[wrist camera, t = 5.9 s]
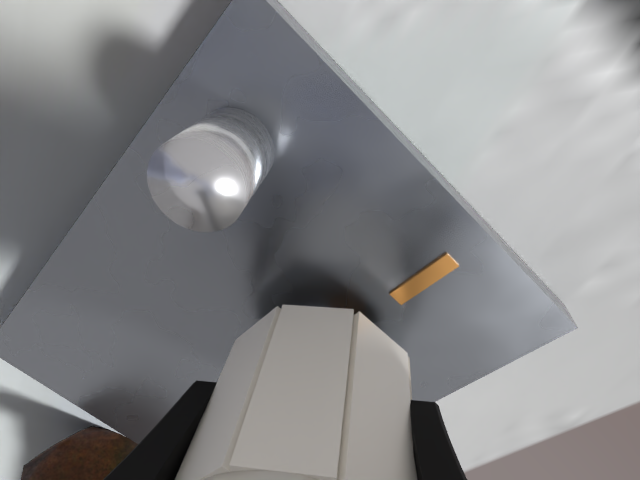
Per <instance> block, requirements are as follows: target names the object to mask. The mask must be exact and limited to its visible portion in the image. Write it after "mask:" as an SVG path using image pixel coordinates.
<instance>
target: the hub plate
mask: <svg viewBox="0 0 640 480" xmlns="http://www.w3.org/2000/svg"><path fill="white" fill-rule="evenodd" d="M282 305H298V306H313V307H329V308H344V309H354V315H355V314H356V313H358V312H359V311H360V312H361V313H362V314H363V315H364V316H365V317H367V318H368V319H369V320H370V321H371V322H372V323H374V324H375V325H376V326H377V327H378V328H379V329H381V330H382V331H383V332H384V333H385V334H386V335H387V336H389V337H390V338H391V339H392V340H393V341H394V342H396V343H397V344H398V345H399V346H400V347H401V348H403V349H404V350H405V351H406V352H407V353H408V357H410V373H411V389H412V400H417V401H428V402H435V401H437V400H439V399H441V398H443V397H445V396H447V395H449V394H451V393H453V392H455V391H456V390H458V389H460V388H462V387H464V386H466V385H468V384H470V383H472V382H474V381H476V380H478V379H480V378H482V377H484V376H485V375H487V374H489V373H491V372H493V371H495V370H497V369H499V368H501V367H503V366H505V365H507V364H509V363H511V362H513V361H514V360H516V359H518V358H520V357H522V356H524V355H526V354H528V353H530V352H532V351H534V350H536V349H538V348H540V347H542V346H544V345H545V344H547V343H549V342H551V341H553V340H555V339H557V338H559V337H561V336H563V335H565V334H567V333H569V332H571V331H573V330H574V329H576V328H577V326H576V324H575V322H574V321H573V319H572V317H571V315H570V314H569V312H568V310H567V308H566V307H565V305H564V304H563V303H562V302H561V301H560V300H559V299H558V298H557V297H556V296H555V294H554V293H553V292H552V291H551V290H550V289H549V288H548V287H547V286H546V285H545V284H544V283H543V282H542V281H541V280H540V279H539V278H538V276H537V275H536V274H535V273H534V272H533V271H532V270H531V269H530V268H529V267H528V266H527V265H526V264H525V263H524V262H523V261H522V259H521V258H520V257H519V256H518V255H517V254H516V253H515V252H514V251H513V250H512V249H511V248H510V247H509V246H508V245H507V244H506V243H505V241H504V240H503V239H502V238H501V237H500V236H499V235H498V234H497V233H496V232H495V231H494V230H493V229H492V228H491V227H490V226H489V224H488V223H487V222H486V221H485V220H484V219H483V218H482V217H481V216H480V215H479V214H478V213H477V212H476V211H475V210H474V209H473V208H472V206H471V205H470V204H469V203H468V202H467V201H466V200H465V199H464V198H463V197H462V196H461V195H460V194H459V193H458V192H457V191H456V190H455V188H454V187H453V186H452V185H451V184H450V183H449V182H448V181H447V180H446V179H445V178H444V177H443V176H442V175H441V174H440V173H439V171H438V170H437V169H436V168H435V167H434V166H433V165H432V164H431V163H430V162H429V161H428V160H427V159H426V158H425V157H424V156H423V155H422V153H421V152H420V151H419V150H418V149H417V148H416V147H415V146H414V145H413V144H412V143H411V142H410V141H409V140H408V139H407V138H406V136H405V135H404V134H403V133H402V132H401V131H400V130H399V129H398V128H397V127H396V126H395V125H394V124H393V123H392V122H391V121H390V120H389V118H388V117H387V116H386V115H385V114H384V113H383V112H382V111H381V110H380V109H379V108H378V107H377V106H376V105H375V104H374V103H373V101H372V100H371V99H370V98H369V97H368V96H367V95H366V94H365V93H364V92H363V91H362V90H361V89H360V88H359V87H358V86H357V85H356V83H355V82H354V81H353V80H352V79H351V78H350V77H349V76H348V75H347V74H346V73H345V72H344V71H343V70H342V69H341V68H340V66H339V65H338V64H337V63H336V62H335V61H334V60H333V59H332V58H331V57H330V56H329V55H328V54H327V53H326V52H325V51H324V50H323V48H322V47H321V46H320V45H319V44H318V43H317V42H316V41H315V40H314V39H313V38H312V37H311V36H310V35H309V34H308V33H307V31H306V30H305V29H304V28H303V27H302V26H301V25H300V24H299V23H298V22H297V21H296V20H295V19H294V18H293V17H292V16H291V15H290V13H289V12H288V11H287V10H286V9H285V8H284V7H283V6H282V5H281V4H280V3H279V2H278V1H277V0H232V1H231V2H230V4H229V5H228V7H227V8H226V10H225V11H224V12H223V14H222V15H221V17H220V18H219V19H218V21H217V22H216V24H215V25H214V27H213V28H212V29H211V31H210V32H209V34H208V35H207V36H206V38H205V39H204V41H203V42H202V43H201V45H200V46H199V48H198V49H197V51H196V52H195V53H194V55H193V56H192V58H191V59H190V60H189V62H188V63H187V65H186V66H185V67H184V69H183V70H182V72H181V73H180V75H179V76H178V77H177V79H176V80H175V82H174V83H173V84H172V86H171V87H170V89H169V90H168V92H167V93H166V94H165V96H164V97H163V99H162V100H161V101H160V103H159V104H158V106H157V107H156V108H155V110H154V111H153V113H152V114H151V116H150V117H149V118H148V120H147V121H146V123H145V124H144V125H143V127H142V128H141V130H140V131H139V133H138V134H137V135H136V137H135V138H134V140H133V141H132V142H131V144H130V145H129V147H128V148H127V149H126V151H125V152H124V154H123V155H122V157H121V158H120V159H119V161H118V162H117V164H116V165H115V166H114V168H113V169H112V171H111V172H110V174H109V175H108V176H107V178H106V179H105V181H104V182H103V183H102V185H101V186H100V188H99V189H98V190H97V192H96V193H95V195H94V196H93V198H92V199H91V200H90V202H89V203H88V205H87V206H86V207H85V209H84V210H83V212H82V213H81V215H80V216H79V217H78V219H77V220H76V222H75V223H74V224H73V226H72V227H71V229H70V230H69V231H68V233H67V234H66V236H65V237H64V239H63V240H62V241H61V243H60V244H59V246H58V247H57V248H56V250H55V251H54V253H53V254H52V256H51V257H50V258H49V260H48V261H47V263H46V264H45V265H44V267H43V268H42V270H41V271H40V272H39V274H38V275H37V277H36V278H35V280H34V281H33V282H32V284H31V285H30V287H29V288H28V289H27V291H26V292H25V294H24V295H23V297H22V298H21V299H20V301H19V302H18V304H17V305H16V306H15V308H14V309H13V311H12V312H11V313H10V315H9V316H8V318H7V319H6V321H5V322H4V323H3V325H2V326H1V328H0V358H1V359H3V360H5V361H6V362H8V363H9V364H11V365H13V366H14V367H16V368H17V369H19V370H21V371H22V372H24V373H25V374H27V375H29V376H30V377H32V378H33V379H35V380H37V381H38V382H40V383H41V384H43V385H45V386H46V387H48V388H49V389H51V390H53V391H54V392H56V393H57V394H59V395H60V396H62V397H64V398H65V399H67V400H68V401H70V402H72V403H73V404H75V405H76V406H78V407H80V408H81V409H83V410H84V411H86V412H88V413H89V414H91V415H92V416H94V417H96V418H97V419H99V420H100V421H102V422H104V423H105V424H107V425H108V426H110V427H112V428H113V429H115V430H116V431H118V432H120V433H121V434H123V435H124V436H126V437H128V438H129V439H131V440H132V441H134V442H136V443H137V444H139V443H140V442H141V441H142V440H143V439H144V437H145V436H146V435H147V434H148V433H149V432H150V431H151V430H152V429H153V428H154V427H155V426H156V425H157V423H158V422H159V421H160V420H161V419H162V418H163V417H164V416H165V415H166V413H167V412H168V411H169V410H170V409H171V408H172V407H173V406H174V404H175V403H176V402H177V401H178V400H179V399H180V398H181V396H182V395H183V394H184V393H185V392H186V391H187V390H188V388H189V387H190V386H191V385H192V384H193V383H194V382H195V381H196V380H197V381H208V382H217V381H218V379H219V377H220V374H221V372H222V370H223V367H224V365H225V363H226V360H227V358H228V356H229V354H230V351H231V349H232V347H233V344H234V342H235V340H236V339H237V338H238V337H239V336H241V335H242V334H243V333H244V332H246V331H247V330H248V329H249V328H251V327H252V326H253V325H254V324H256V323H257V322H258V321H259V320H261V319H262V318H263V317H264V316H266V315H267V314H268V313H269V312H271V311H272V310H273V309H274V308H276V307H277V306H278V307H279V308H282Z"/></svg>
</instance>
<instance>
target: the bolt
mask: <svg viewBox="0 0 640 480" xmlns="http://www.w3.org/2000/svg"><path fill="white" fill-rule="evenodd" d="M137 445H138V444H137V443H136V442H134V441H132V440H131V439H129V438H127V437H125V436H123V435H121V434H118V433H116V432H113V431H110V430H106V429H102V428H97V427H92V426H91V427H89V428H86V429H84V430H81V431H79V432H77V433H75V434H73V435H72V436H70V437H68V438H66V439H64V440H62V441H61V442H59V443H57V444H55V445H53V446H52V447H50V448H49V449H47V450H46V451H44V452H43V453H41V454H40V455H38V456H37V457H35V458H34V459H33V460H31V461H30V462H29V463H27V464H26V465H24V467H23V472H22V476H21V480H103V479H104V478H105V477H106V476H107V475H108V474H109V473H110V472H111V471H112V470H113V469H114V468H115V467H116V466H117V465H118V464H119V463H120V462H122V461H123V460H124V459H125V458H126V456H127V455H128V454H129V453H130V452H131V451H132V450H133V449H134V448H135V447H136V446H137Z"/></svg>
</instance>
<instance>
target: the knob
mask: <svg viewBox="0 0 640 480" xmlns="http://www.w3.org/2000/svg"><path fill="white" fill-rule="evenodd" d="M410 400H412V389H411V373H410V357H408V353H407V352H406V351H405V350H404V349H403V348H401V347H400V346H399V345H398V344H397V343H396V342H394V341H393V340H392V339H391V338H390V337H389V336H387V335H386V334H385V333H384V332H383V331H382V330H381V329H379V328H378V327H377V326H376V325H375V324H374V323H372V322H371V321H370V320H369V319H368V318H367V317H365V316H364V315H363V314H362V313H361V312H360V311H359V312H358V313H356V314H355V315H354V309H344V308H329V307H313V306H298V305H282V308H279V307H278V306H277V307H276V308H274V309H273V310H272V311H271V312H269V313H268V314H267V315H266V316H264V317H263V318H262V319H261V320H259V321H258V322H257V323H256V324H254V325H253V326H252V327H251V328H249V329H248V330H247V331H246V332H244V333H243V334H242V335H241V336H239V337H238V338H237V339H236V340H235V342H234V344H233V347H232V349H231V351H230V354H229V356H228V358H227V360H226V363H225V365H224V367H223V370H222V372H221V374H220V377H219V379H218V381H217V383H216V386H215V389H214V391H213V393H212V396H211V398H210V400H209V402H208V405H207V407H206V409H205V412H204V414H203V416H202V418H201V420H200V423H199V425H198V427H197V429H196V432H195V434H194V436H193V439H192V441H191V443H190V446H189V448H188V450H187V452H186V455H185V457H184V459H183V462H182V464H181V466H180V469H179V471H178V473H177V476H176V478H175V480H417V473H416V467H415V460H414V453H413V440H412V428H411V411H410V403H411V401H410Z"/></svg>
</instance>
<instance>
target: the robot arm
mask: <svg viewBox="0 0 640 480" xmlns="http://www.w3.org/2000/svg"><path fill="white" fill-rule="evenodd" d="M216 383H217V382H208V381H197V380H196V381H195V382H194V383H193V384H192V385H191V386H190V387H189V388H188V390H187V391H186V392H185V393H184V394H183V395H182V396H181V398H180V399H179V400H178V401H177V402H176V403H175V404H174V406H173V407H172V408H171V409H170V410H169V411H168V412H167V413H166V415H165V416H164V417H163V418H162V419H161V420H160V421H159V422H158V423H157V425H156V426H155V427H154V428H153V429H152V430H151V431H150V432H149V433H148V434H147V435H146V436H145V437H144V439H143V440H142V441H141V442H140V443H139V444H138V445H137V446H136V447H135V448H134V449H133V450H132V451H131V452H130V453H129V454H128V455H127V456H126V458H125V459H124V460H123V461H122V462H120V463H119V464H118V465H117V466H116V467H115V468H114V469H113V470H112V471H111V472H110V473H109V474H108V475H107V476H106V477H105V478H104V479H103V480H175V478H176V476H177V473H178V471H179V469H180V466H181V464H182V462H183V459H184V457H185V455H186V452H187V450H188V448H189V446H190V443H191V441H192V439H193V436H194V434H195V432H196V429H197V427H198V425H199V423H200V420H201V418H202V416H203V414H204V412H205V409H206V407H207V405H208V402H209V400H210V398H211V396H212V393H213V391H214V389H215V386H216ZM410 401H411V403H410V411H411V428H412V440H413V453H414V460H415V467H416V473H417V480H467V479H466V477H465V474H464V472H463V470H462V468H461V465H460V463H459V461H458V458H457V456H456V454H455V451H454V449H453V446H452V444H451V441H450V439H449V436H448V433H447V431H446V428H445V425H444V422H443V419H442V416H441V413H440V409H439V406H438V405H437V404H436V403H435V402H428V401H417V400H410Z"/></svg>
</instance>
